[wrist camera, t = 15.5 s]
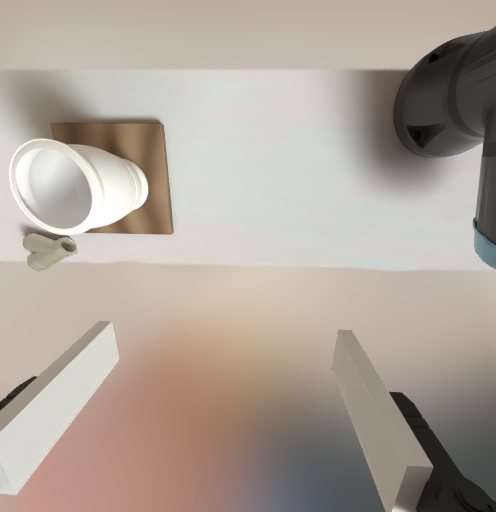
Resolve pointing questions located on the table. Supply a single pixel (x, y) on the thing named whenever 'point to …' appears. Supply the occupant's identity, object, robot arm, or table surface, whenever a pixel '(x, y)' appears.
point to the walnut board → (139, 152)
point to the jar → (74, 185)
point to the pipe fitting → (47, 250)
